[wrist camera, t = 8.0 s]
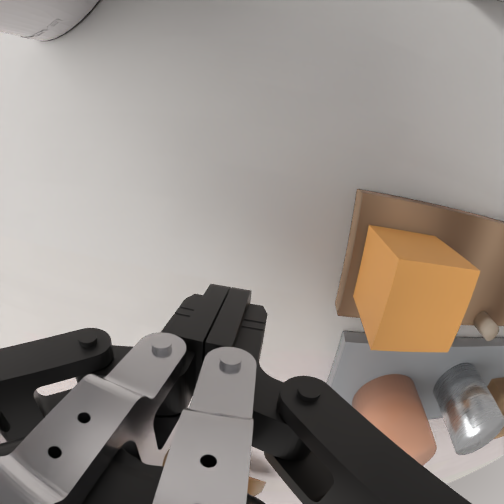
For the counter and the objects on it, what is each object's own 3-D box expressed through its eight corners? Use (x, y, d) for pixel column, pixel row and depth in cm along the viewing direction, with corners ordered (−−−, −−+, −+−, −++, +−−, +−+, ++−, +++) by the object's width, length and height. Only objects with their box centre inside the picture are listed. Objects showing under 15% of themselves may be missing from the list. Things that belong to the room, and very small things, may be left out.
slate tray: (343, 331, 18) (345, 341, 17) (539, 336, 16) (545, 342, 15) (317, 409, 21) (317, 420, 20) (502, 399, 19) (506, 406, 18)
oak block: (491, 378, 17) (510, 409, 13) (517, 375, 17) (535, 402, 13) (470, 410, 18) (484, 441, 15) (497, 405, 18) (511, 433, 14)
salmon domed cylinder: (363, 372, 18) (378, 442, 12) (425, 373, 17) (450, 435, 12) (343, 417, 20) (349, 481, 14) (400, 417, 19) (414, 475, 14)
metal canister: (446, 363, 17) (476, 422, 11) (483, 361, 17) (514, 413, 11) (425, 401, 18) (445, 458, 13) (461, 397, 18) (484, 449, 12)
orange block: (353, 296, 15) (370, 350, 11) (368, 224, 14) (398, 258, 10) (416, 302, 15) (447, 352, 11) (435, 236, 14) (480, 271, 9)
